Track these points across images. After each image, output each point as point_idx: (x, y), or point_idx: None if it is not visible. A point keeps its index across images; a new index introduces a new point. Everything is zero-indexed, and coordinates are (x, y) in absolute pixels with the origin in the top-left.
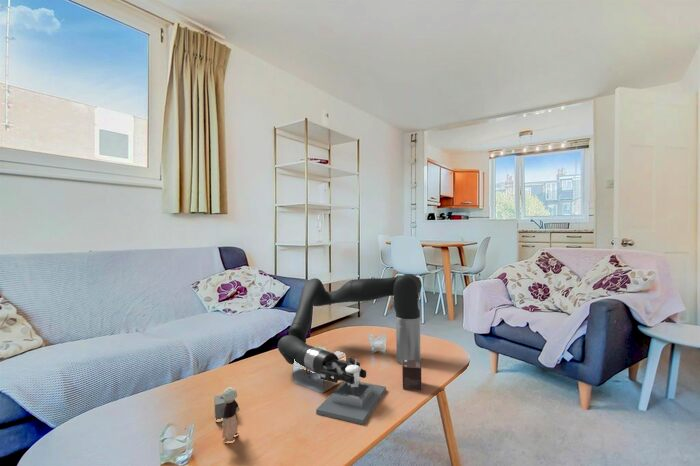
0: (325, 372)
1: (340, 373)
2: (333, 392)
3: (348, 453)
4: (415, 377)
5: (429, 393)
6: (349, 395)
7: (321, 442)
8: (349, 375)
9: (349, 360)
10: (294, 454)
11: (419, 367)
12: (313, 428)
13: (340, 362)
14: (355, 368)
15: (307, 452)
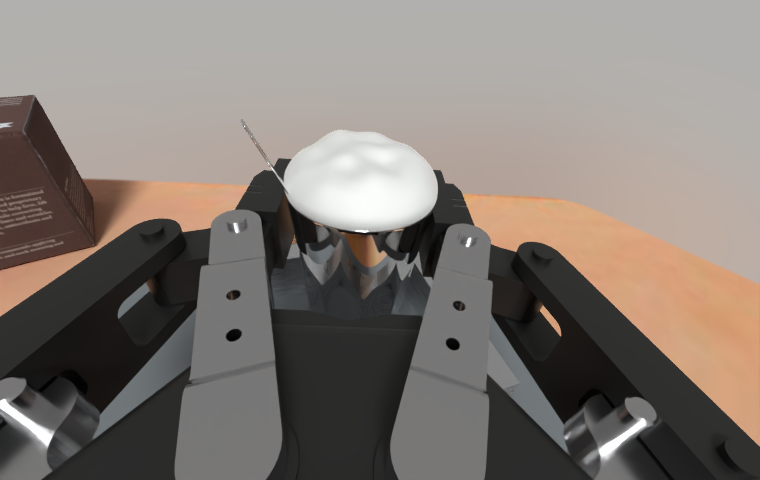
0: (667, 362)
1: (486, 239)
2: (501, 381)
3: (565, 209)
4: (64, 156)
5: (113, 181)
6: (432, 281)
7: (635, 273)
8: (443, 183)
9: (26, 382)
10: (747, 293)
11: (28, 97)
12: (657, 346)
13: (276, 386)
14: (381, 134)
15: (694, 273)
